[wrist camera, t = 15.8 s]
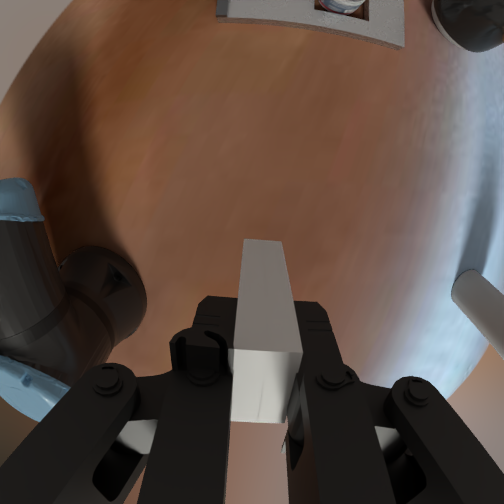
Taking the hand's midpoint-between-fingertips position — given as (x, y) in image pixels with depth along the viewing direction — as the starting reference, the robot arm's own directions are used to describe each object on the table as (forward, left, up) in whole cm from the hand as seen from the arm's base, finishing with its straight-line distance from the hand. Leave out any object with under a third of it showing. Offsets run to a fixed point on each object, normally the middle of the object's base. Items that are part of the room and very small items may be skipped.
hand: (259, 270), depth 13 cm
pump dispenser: (+25, +27, -25) cm, 44 cm away
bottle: (+36, -13, -25) cm, 46 cm away
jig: (+5, +25, -24) cm, 35 cm away
